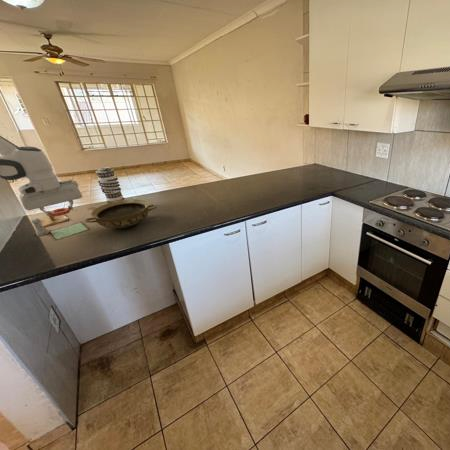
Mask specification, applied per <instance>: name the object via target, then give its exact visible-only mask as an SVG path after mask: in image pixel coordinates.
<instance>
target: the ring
mask: <svg viewBox="0 0 450 450" xmlns="http://www.w3.org/2000/svg"><path fill="white" fill-rule="evenodd" d="M50 213H51V216H60V215H64V216H65V215H67V214H69V213H71V210H69V208H68V207H60V208H55V209H53V210H51V212H50Z"/></svg>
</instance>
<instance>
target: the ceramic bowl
mask: <svg viewBox="0 0 450 450" xmlns="http://www.w3.org/2000/svg"><path fill="white" fill-rule="evenodd" d="M156 208H157V205H156V204H150V203H149V201H147V200H145V199H139V198H135V199H134V198H131V199H124V200H120V201H115V202H111V203H108V204H107V203H105V204H102V205H100V206H98V207H96V208H95V209H94V210H92V211H91V213H90V215H91V217H88V218H85V219H84V222H85V223H97V224H99V225H100V226H101V227H103V228H111V229H128V228H131V227H134V226H135V225H136V224H138V223H140V222H142V221H144V220H145V219H146V218H147V216H148V215H149V212H150V211H153V210H154V209H155V210H156Z"/></svg>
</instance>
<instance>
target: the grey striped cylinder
mask: <svg viewBox="0 0 450 450" xmlns="http://www.w3.org/2000/svg"><path fill="white" fill-rule="evenodd" d="M95 173H96V176H97V179H98V181H97V183H98V186H99V187H100V189H101V192H102V193H103V194H104V196H105V199H106V204H108V203H111V202H115V201H120V200H125V197H124V196H123V194H122V188H121V184H119V183H120V181H119V178H118V177H117V175H116V174H115V170H114V168H112V167H110V166H102V167H98V168H97V169H96V171H95Z"/></svg>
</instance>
